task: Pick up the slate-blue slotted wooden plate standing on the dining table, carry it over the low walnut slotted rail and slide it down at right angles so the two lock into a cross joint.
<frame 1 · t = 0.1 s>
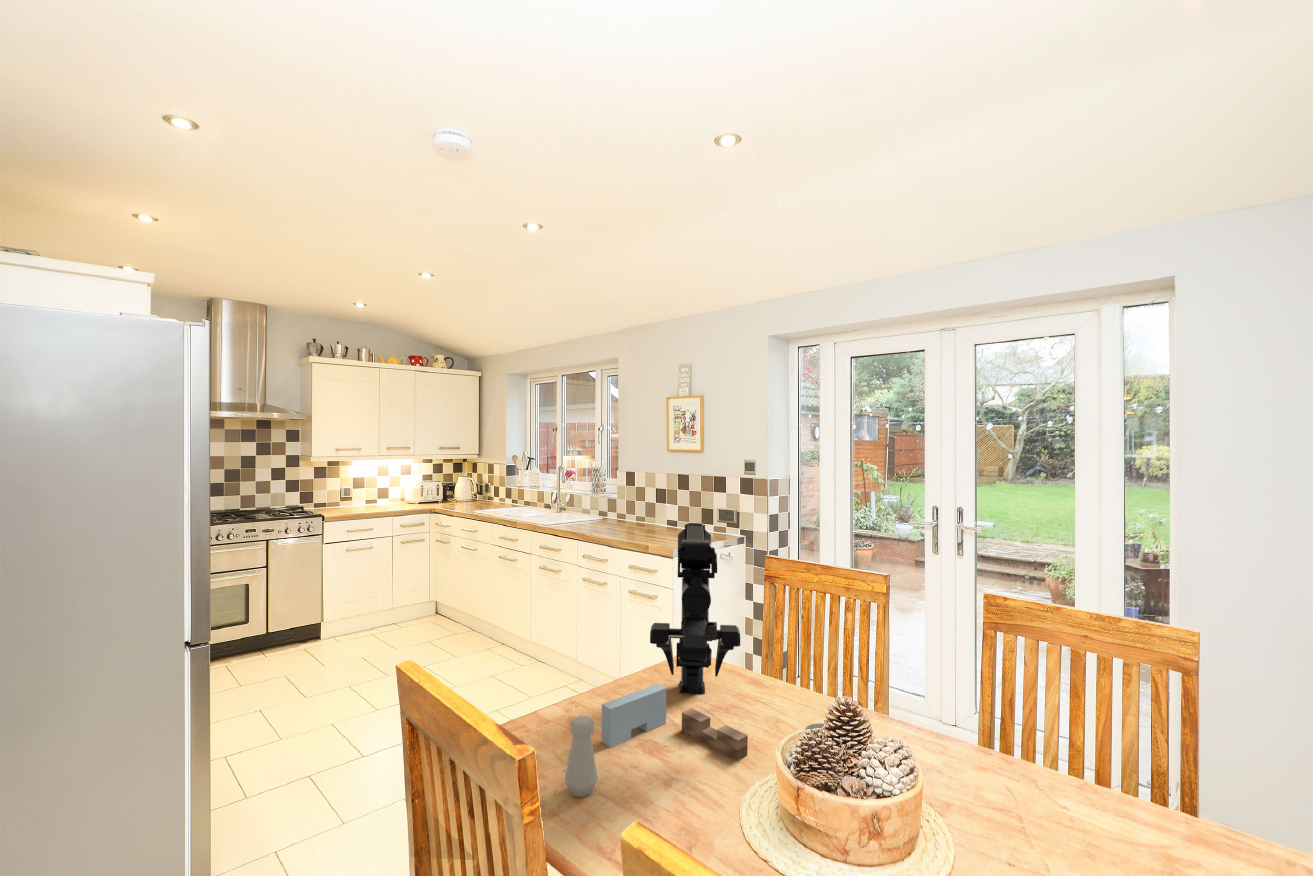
hand: (694, 675, 123), 15 cm above the table, fingers open, 9 cm apart
salt shaker: (581, 792, 106), on the table
walnut rail: (713, 742, 123), on the table
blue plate: (634, 732, 127), on the table
cup: (825, 788, 108), on the table
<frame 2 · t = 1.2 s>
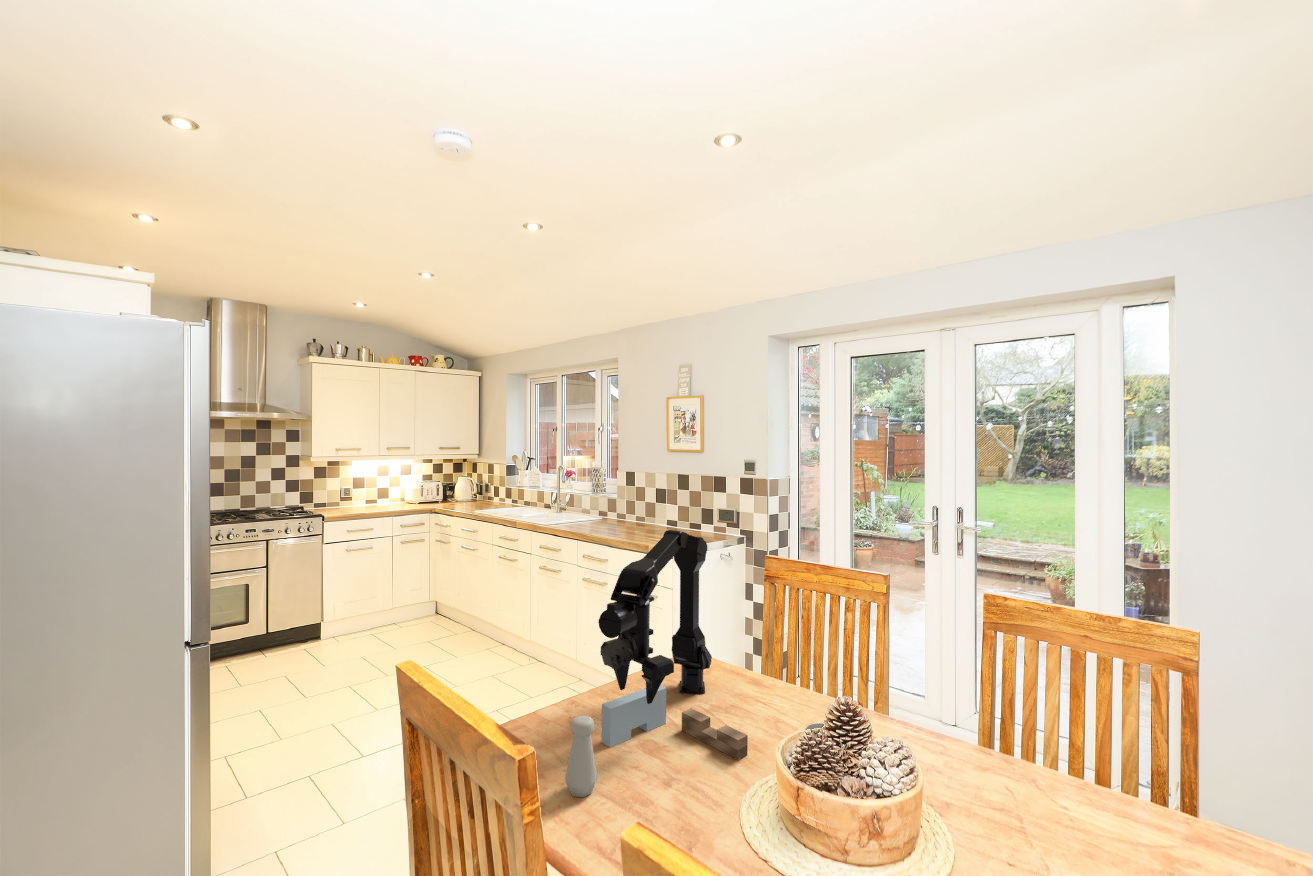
hand: (635, 696, 127), 8 cm above the table, fingers open, 9 cm apart
nothing on the table moved.
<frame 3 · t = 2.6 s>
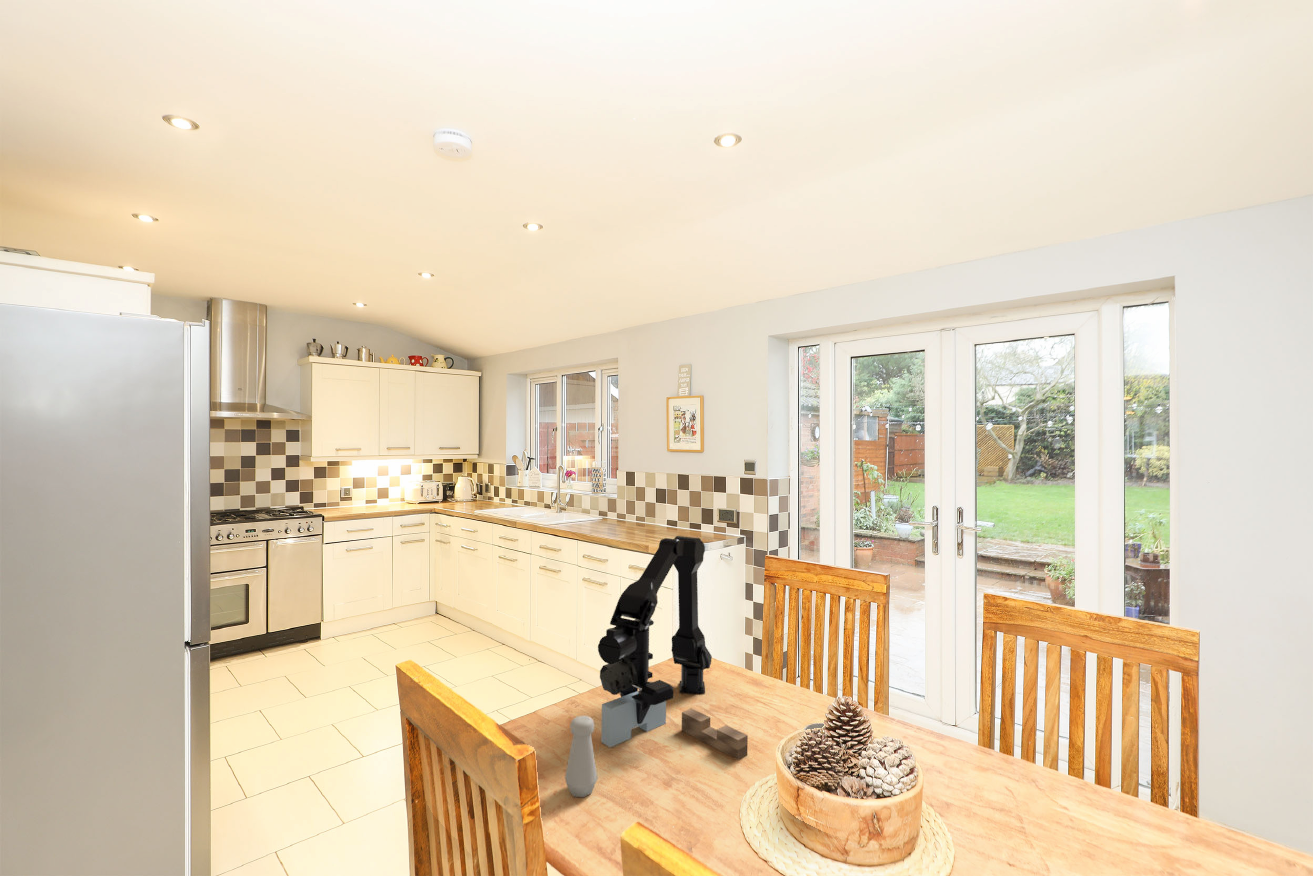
hand: (634, 720, 127), 3 cm above the table, fingers closed on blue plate, 3 cm apart
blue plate: (634, 732, 127), on the table, touching gripper
everything else where it was.
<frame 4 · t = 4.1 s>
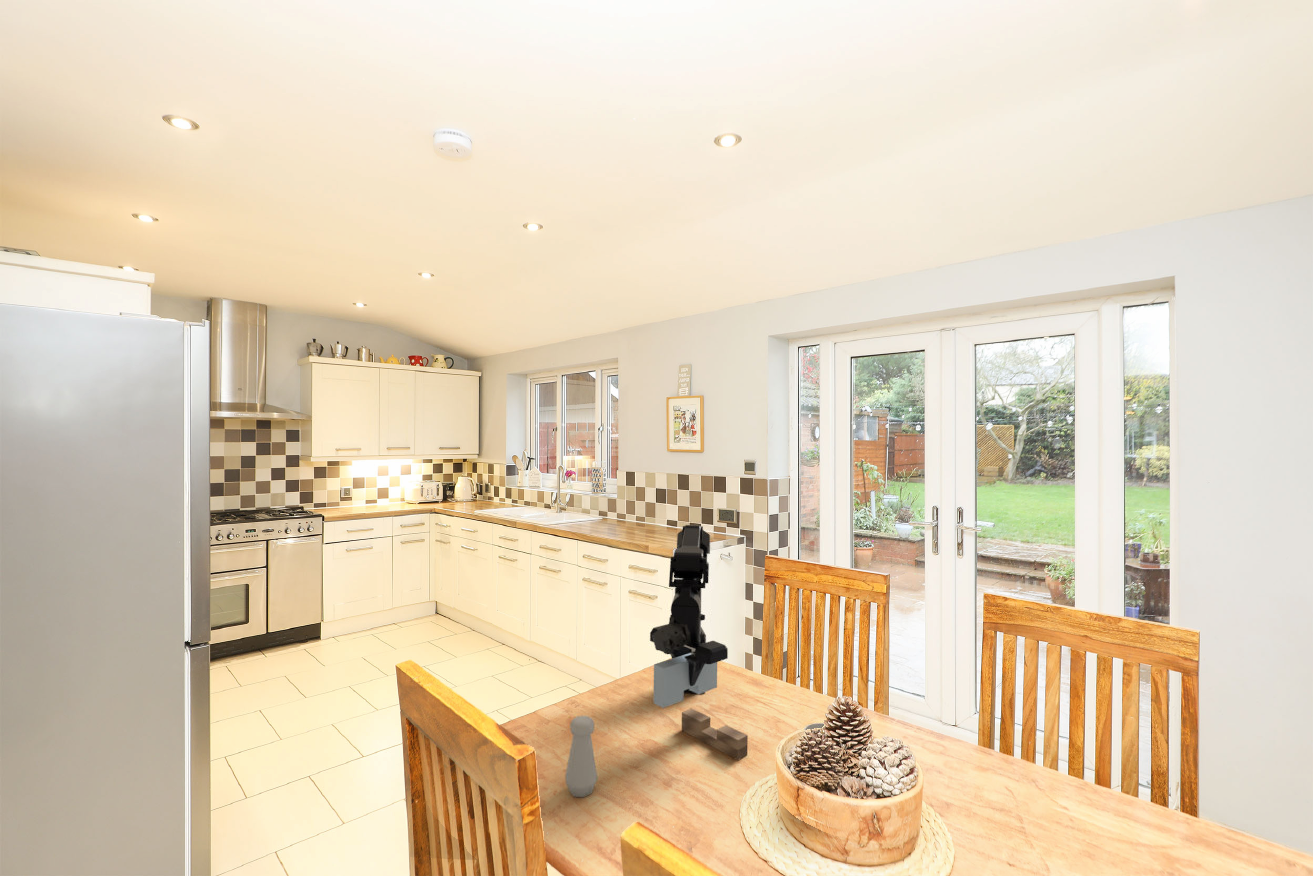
hand: (686, 683, 125), 12 cm above the table, fingers closed on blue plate, 3 cm apart
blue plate: (686, 694, 125), point 9 cm above the table, touching gripper
everything else where it was.
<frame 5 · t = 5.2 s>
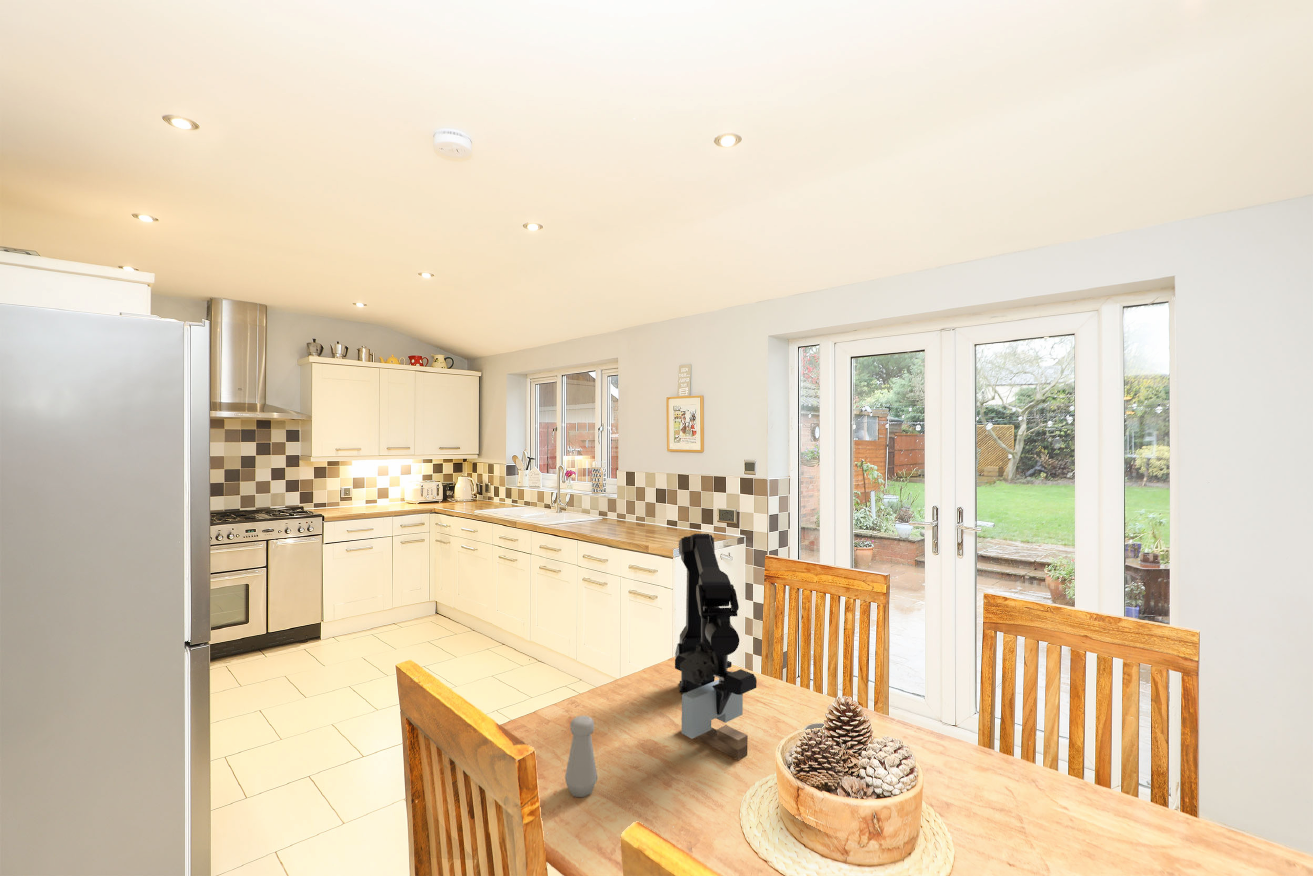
hand: (713, 711, 124), 6 cm above the table, fingers closed on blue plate, 3 cm apart
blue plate: (713, 723, 124), point 4 cm above the table, touching gripper
everything else where it was.
when the fingers open (4 cm above the table, at t = 5.8 s): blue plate drops 2 cm, resting on walnut rail.
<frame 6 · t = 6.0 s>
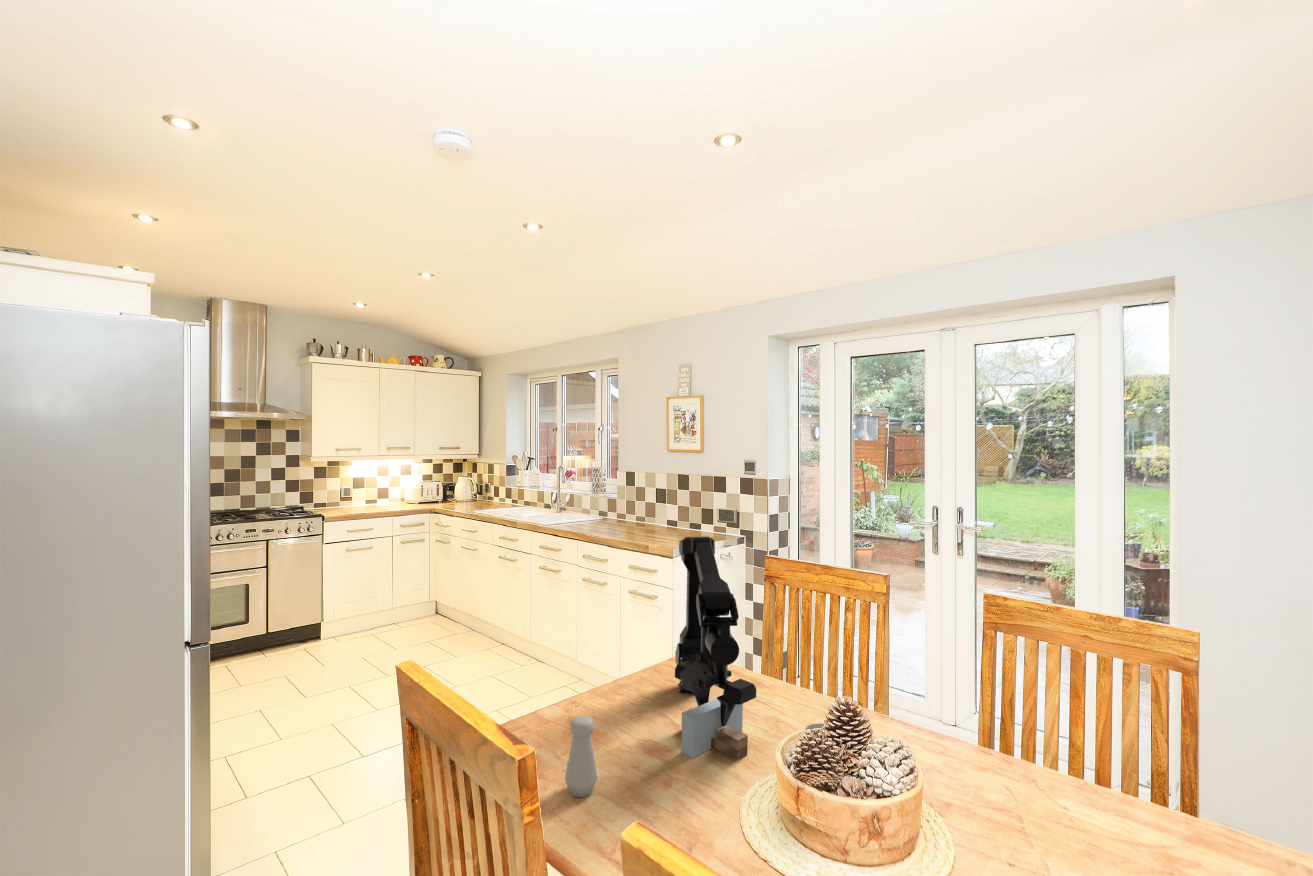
hand: (713, 720, 124), 4 cm above the table, fingers open, 5 cm apart
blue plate: (712, 742, 123), resting on walnut rail
everything else where it was.
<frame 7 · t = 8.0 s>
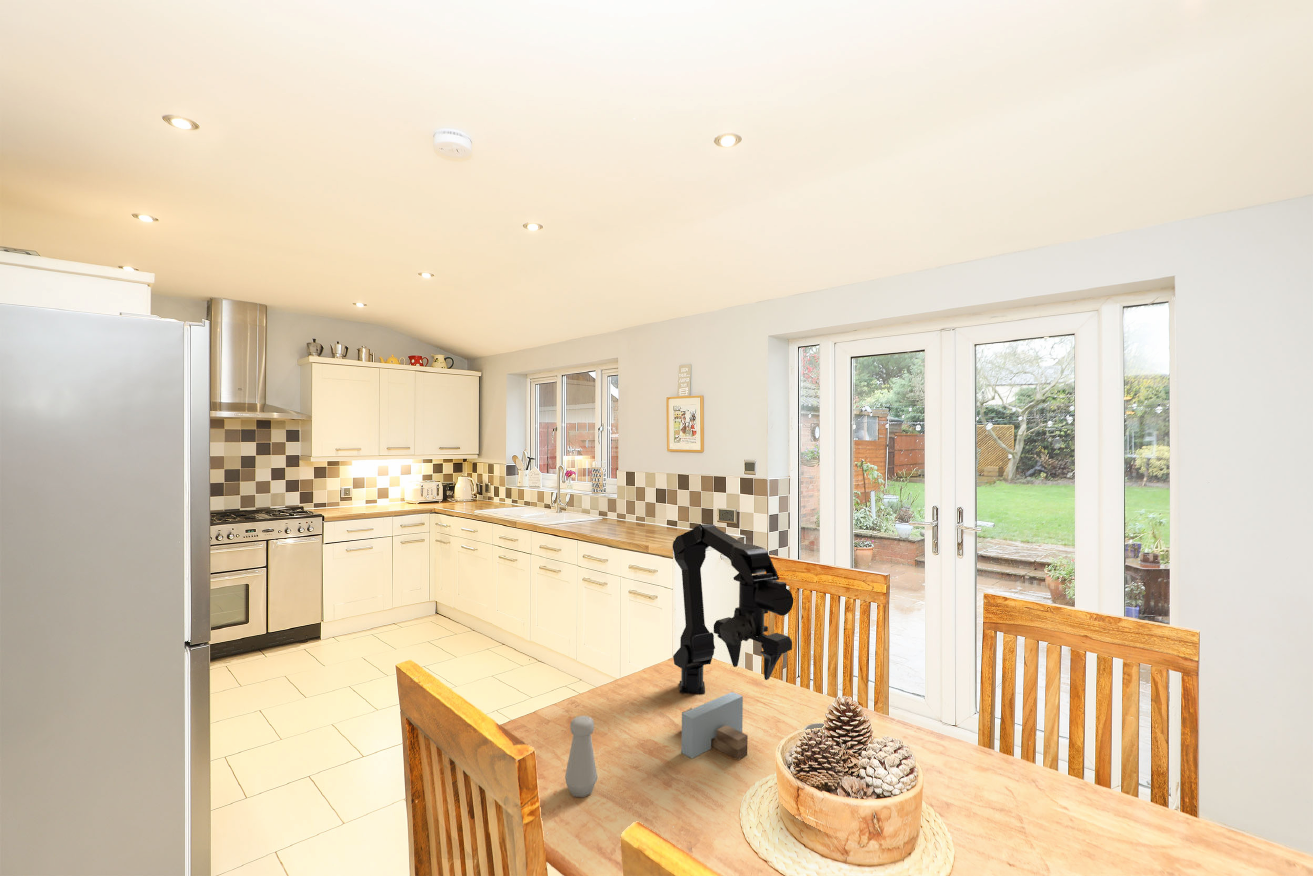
hand: (750, 672, 131), 12 cm above the table, fingers open, 9 cm apart
nothing on the table moved.
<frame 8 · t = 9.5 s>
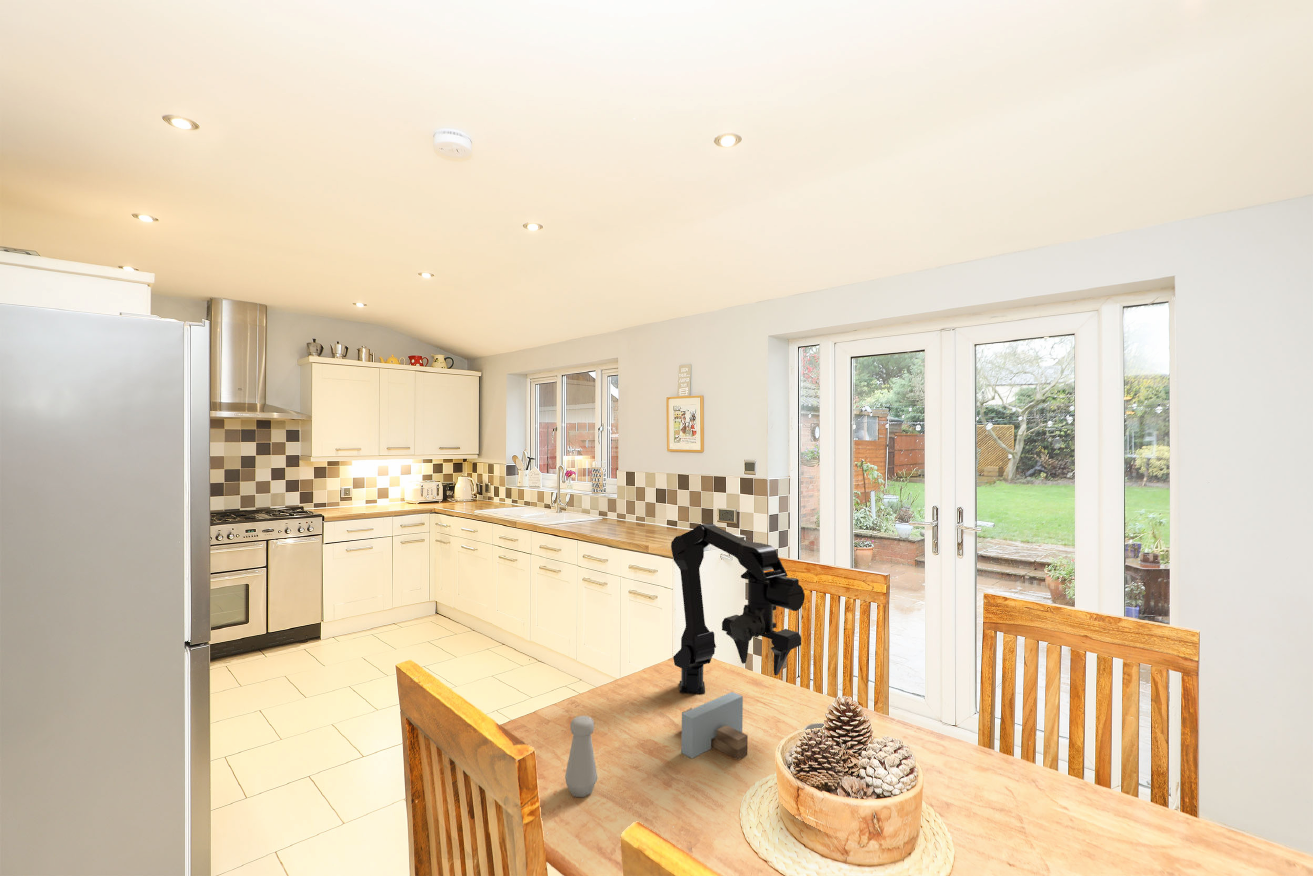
hand: (759, 669, 133), 12 cm above the table, fingers open, 9 cm apart
nothing on the table moved.
at the end: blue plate 0.1 cm off-centre on the walnut rail, point 0.0 cm above the walnut rail's base; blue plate tilted 0°; the gripper is holding nothing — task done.
